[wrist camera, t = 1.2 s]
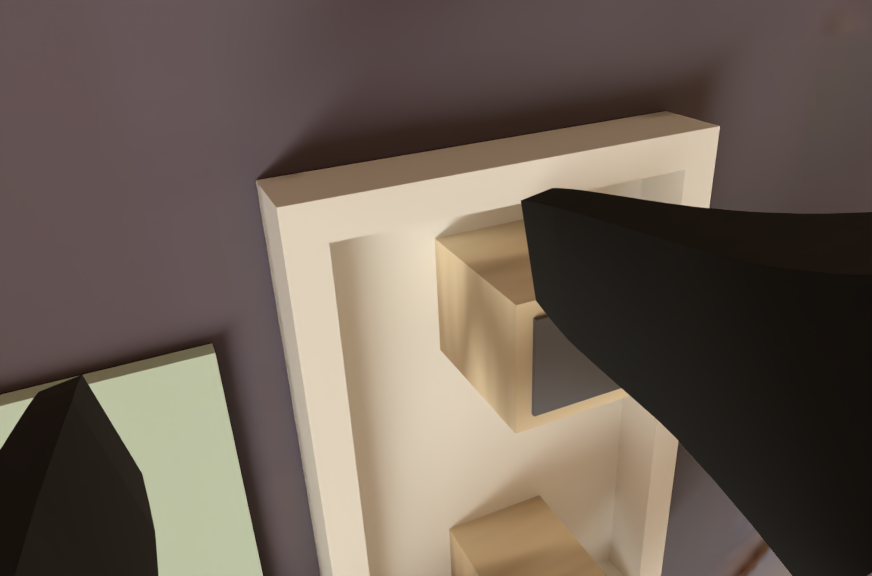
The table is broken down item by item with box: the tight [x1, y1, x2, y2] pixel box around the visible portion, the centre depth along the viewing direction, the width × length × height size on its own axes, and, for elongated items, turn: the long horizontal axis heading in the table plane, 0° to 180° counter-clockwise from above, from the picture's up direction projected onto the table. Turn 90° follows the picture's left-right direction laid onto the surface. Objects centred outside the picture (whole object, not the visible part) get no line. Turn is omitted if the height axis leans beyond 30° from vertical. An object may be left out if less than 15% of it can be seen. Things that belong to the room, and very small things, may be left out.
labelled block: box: [435, 219, 630, 434], centre depth 22 cm, size 4×4×5 cm
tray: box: [256, 111, 720, 576], centre depth 26 cm, size 21×14×2 cm, turn 3°
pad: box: [0, 343, 263, 576], centre depth 22 cm, size 12×10×1 cm
